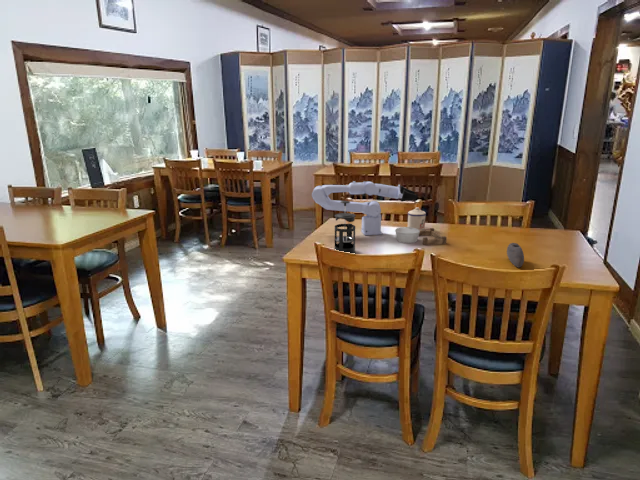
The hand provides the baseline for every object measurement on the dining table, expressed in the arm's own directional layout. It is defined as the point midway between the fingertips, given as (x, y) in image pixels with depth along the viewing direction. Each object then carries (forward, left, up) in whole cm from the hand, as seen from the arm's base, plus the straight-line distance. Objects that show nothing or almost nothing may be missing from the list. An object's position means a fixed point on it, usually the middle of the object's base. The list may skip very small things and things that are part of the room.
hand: (415, 195), depth 215 cm
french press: (-40, -24, -19) cm, 50 cm away
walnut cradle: (+4, -11, -19) cm, 22 cm away
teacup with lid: (+4, +8, -19) cm, 22 cm away
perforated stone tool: (+25, -49, -20) cm, 58 cm away
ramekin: (-7, -11, -20) cm, 23 cm away
